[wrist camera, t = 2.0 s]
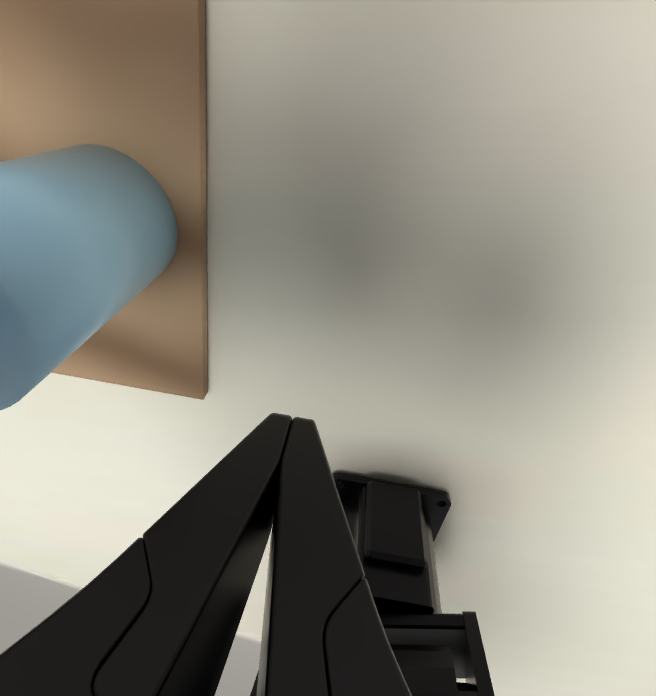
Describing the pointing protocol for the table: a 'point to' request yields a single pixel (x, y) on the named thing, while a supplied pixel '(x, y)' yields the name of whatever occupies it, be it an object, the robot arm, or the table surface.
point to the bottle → (72, 253)
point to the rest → (131, 139)
